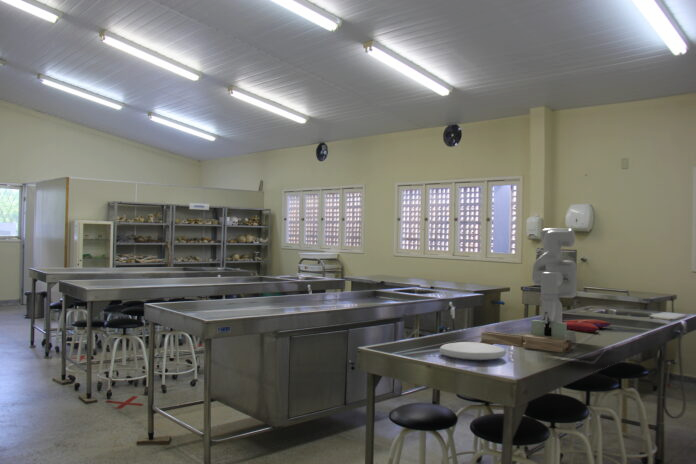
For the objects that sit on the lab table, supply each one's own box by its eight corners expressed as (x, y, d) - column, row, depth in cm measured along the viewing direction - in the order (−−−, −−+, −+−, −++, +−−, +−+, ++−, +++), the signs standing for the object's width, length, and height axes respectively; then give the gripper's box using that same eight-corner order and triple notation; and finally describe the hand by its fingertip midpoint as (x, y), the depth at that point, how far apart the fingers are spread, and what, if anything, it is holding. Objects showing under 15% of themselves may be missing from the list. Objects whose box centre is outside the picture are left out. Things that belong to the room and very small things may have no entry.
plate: (428, 345, 233) (458, 339, 253) (429, 360, 233) (459, 352, 253) (486, 348, 215) (514, 341, 235) (487, 364, 214) (515, 356, 234)
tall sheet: (531, 344, 262) (532, 319, 262) (566, 348, 253) (566, 323, 253) (530, 344, 260) (531, 320, 260) (565, 348, 251) (565, 323, 252)
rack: (529, 345, 265) (529, 332, 265) (571, 350, 254) (571, 336, 254) (521, 349, 253) (521, 335, 254) (565, 355, 242) (566, 340, 243)
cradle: (486, 340, 275) (486, 330, 275) (525, 345, 264) (526, 335, 264) (480, 343, 267) (480, 333, 267) (520, 348, 256) (520, 337, 256)
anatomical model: (611, 332, 328) (562, 328, 347) (611, 320, 328) (561, 317, 347) (598, 333, 304) (545, 329, 323) (598, 320, 305) (545, 317, 324)
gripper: (544, 295, 266) (544, 332, 265) (537, 298, 252) (536, 336, 252) (560, 296, 262) (560, 334, 261) (553, 299, 248) (552, 338, 248)
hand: (548, 335), depth 257 cm, fingers closed on tall sheet, 2 cm apart
